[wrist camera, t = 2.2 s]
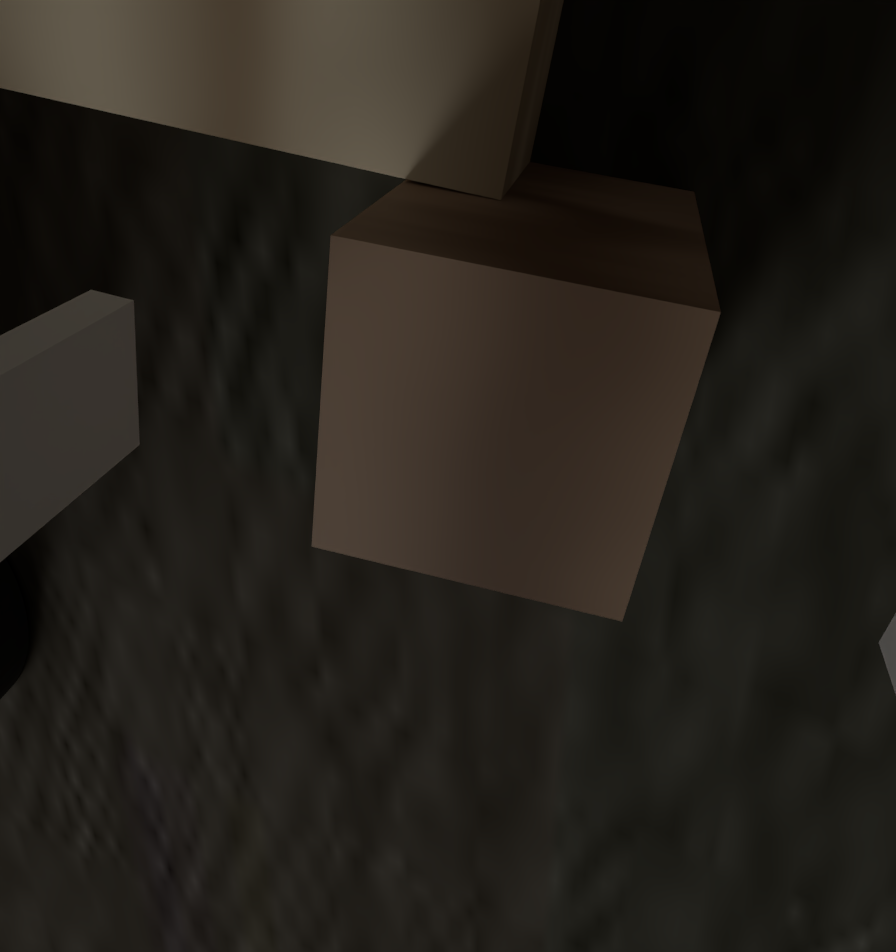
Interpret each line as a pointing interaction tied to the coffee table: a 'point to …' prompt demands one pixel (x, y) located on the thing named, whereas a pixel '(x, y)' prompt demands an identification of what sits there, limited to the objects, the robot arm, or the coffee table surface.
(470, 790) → the coffee table surface
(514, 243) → the walnut block
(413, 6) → the oak block
